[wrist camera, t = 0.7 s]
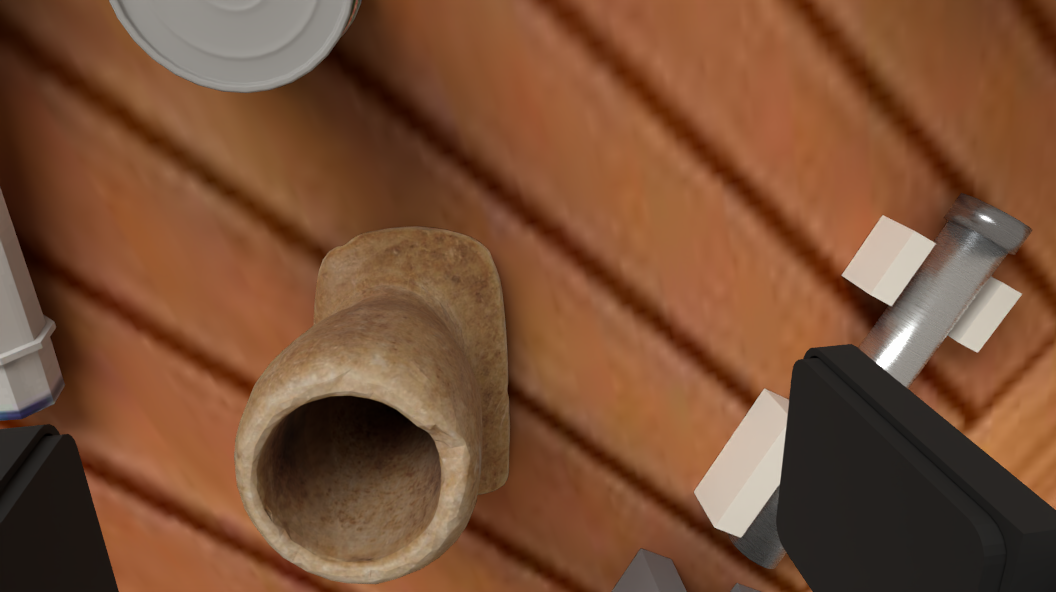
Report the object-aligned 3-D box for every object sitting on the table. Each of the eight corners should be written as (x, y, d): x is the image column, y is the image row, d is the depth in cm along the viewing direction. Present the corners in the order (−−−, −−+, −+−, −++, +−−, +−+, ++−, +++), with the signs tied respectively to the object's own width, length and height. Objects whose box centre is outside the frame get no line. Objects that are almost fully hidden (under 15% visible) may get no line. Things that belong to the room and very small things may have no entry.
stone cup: (265, 225, 40) (200, 359, 26) (503, 215, 42) (559, 336, 28) (297, 481, 46) (258, 702, 32) (505, 463, 47) (552, 665, 34)
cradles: (882, 215, 45) (920, 234, 42) (985, 275, 48) (1028, 297, 44) (693, 492, 50) (714, 527, 47) (795, 532, 53) (822, 569, 50)
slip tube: (946, 186, 45) (995, 206, 41) (995, 217, 46) (1048, 238, 42) (714, 518, 51) (739, 560, 47) (763, 537, 52) (791, 579, 48)
